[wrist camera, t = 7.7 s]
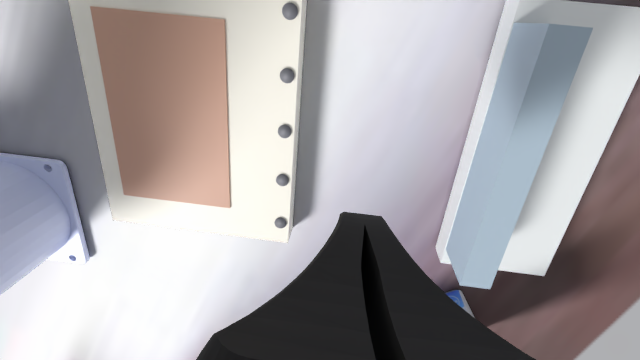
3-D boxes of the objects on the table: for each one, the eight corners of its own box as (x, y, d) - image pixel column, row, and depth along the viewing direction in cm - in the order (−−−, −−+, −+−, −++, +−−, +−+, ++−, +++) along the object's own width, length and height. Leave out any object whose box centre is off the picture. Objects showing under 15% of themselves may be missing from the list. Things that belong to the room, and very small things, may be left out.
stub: (435, 247, 22) (453, 300, 18) (506, -2, 16) (559, -9, 12) (532, 259, 21) (573, 316, 17) (642, 10, 15) (744, 8, 11)
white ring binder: (129, 206, 23) (111, 221, 21) (85, -41, 17) (57, -47, 15) (292, 227, 22) (287, 244, 21) (308, -20, 16) (302, -24, 15)
